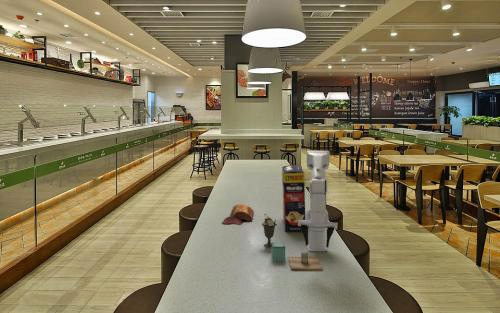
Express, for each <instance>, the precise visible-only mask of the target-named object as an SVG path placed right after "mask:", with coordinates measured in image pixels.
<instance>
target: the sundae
mask: <svg viewBox="0 0 500 313" xmlns="http://www.w3.org/2000/svg"><path fill="white" fill-rule="evenodd" d="M264 216H265V218H264V221H263V222H262V224H261V226H262V227H263V232H264V236H265V238H266V239H267V243H265V244H263V247H265V248H270V249H271V248H272V242H271V240H272V238H273V237H274V234H275V229H276V228H275V227H276V226H277V225H278V224H277V223H276V222H277V219H275V220H273V218H270V217H269V216H268V215H267V214H266V213H264Z"/></svg>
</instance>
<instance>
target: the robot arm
mask: <svg viewBox="0 0 500 313" xmlns="http://www.w3.org/2000/svg"><path fill="white" fill-rule="evenodd" d="M330 154H331V152H330V151H329V150H307V151H306V167H307V169H309V170H310V180H309V181H308V183H309V184H308V190H309V191H308V192H309V199H310V200H309V208H308V209H306V211H305V217H306V218H305V219H306V220H299V221H298V226H301V228H300V229H301V231H302V232H301V233H302V235H303V239H304V242H305V246H306V248H307V250H308V252H327V251H328V249H327V248H329V246H330V241H331V237H332V235H333V233H334V231H335V230H338V222H334V221H333V222H332V221H329V212H328V211H327V209H326V204H327V202H326V201H327V200H326V199H327V198H326V196H327V193H328V180H327V177H326V170H328V169H329V167H330V161H331V158H330V157H331V155H330Z"/></svg>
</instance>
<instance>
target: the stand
mask: <svg viewBox="0 0 500 313" xmlns="http://www.w3.org/2000/svg"><path fill="white" fill-rule="evenodd" d="M287 260H288V263H289V267H290V270H291V271H293V272H294V271H324V270H323V269H324V268H323V266H322V264H321V262H320V260H319V258H318V256H309V251H305V250H304V251H301V254H300V256H287Z"/></svg>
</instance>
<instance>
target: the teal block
mask: <svg viewBox="0 0 500 313" xmlns="http://www.w3.org/2000/svg"><path fill="white" fill-rule="evenodd" d="M271 244H272V247H271V261H272V262H286V243H285V242H271Z"/></svg>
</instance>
